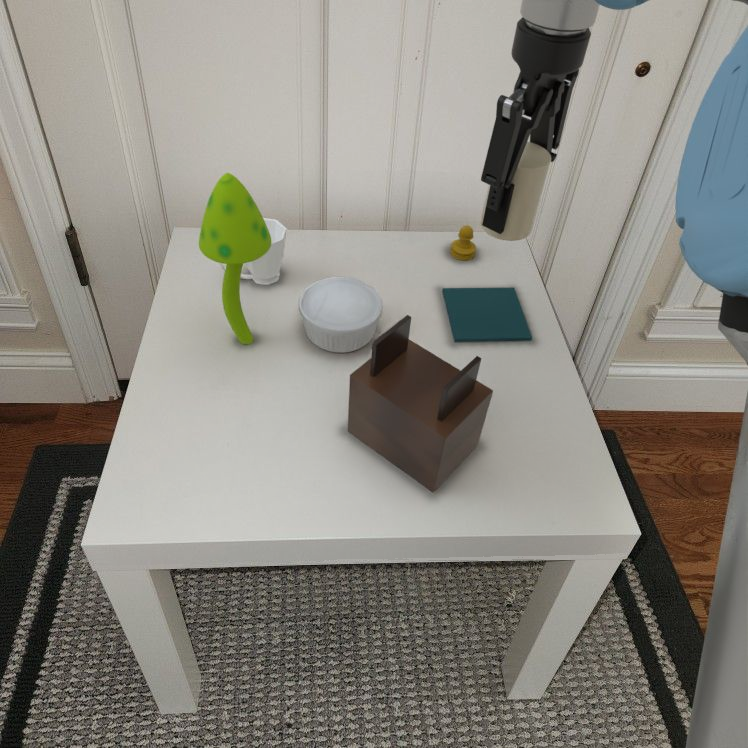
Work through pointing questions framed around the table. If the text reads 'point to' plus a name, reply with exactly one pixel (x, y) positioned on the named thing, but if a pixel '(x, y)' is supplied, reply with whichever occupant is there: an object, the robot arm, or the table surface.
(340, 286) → the ramekin
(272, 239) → the cup
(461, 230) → the chess piece
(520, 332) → the mat
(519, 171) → the cream cylinder
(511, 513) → the table surface
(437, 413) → the holder
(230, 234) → the mushroom
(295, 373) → the table surface
